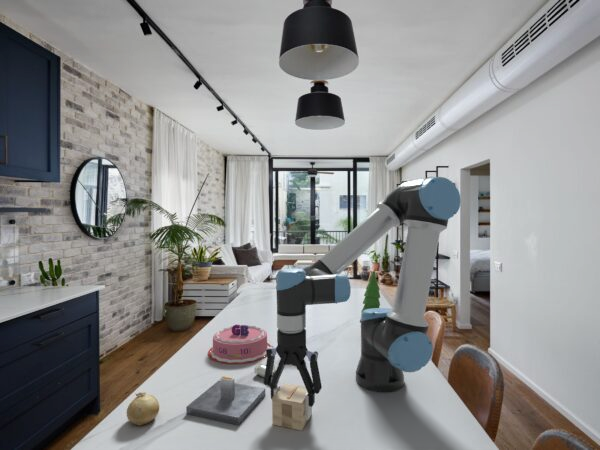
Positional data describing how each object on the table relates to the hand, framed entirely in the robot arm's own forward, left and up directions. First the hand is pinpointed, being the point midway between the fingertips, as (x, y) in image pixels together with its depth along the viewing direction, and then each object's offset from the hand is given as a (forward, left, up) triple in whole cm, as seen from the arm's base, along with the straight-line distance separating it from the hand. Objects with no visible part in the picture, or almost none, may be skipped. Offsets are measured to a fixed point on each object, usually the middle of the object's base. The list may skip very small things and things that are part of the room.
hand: (292, 414), depth 93 cm
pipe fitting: (+16, -21, -2) cm, 26 cm away
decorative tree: (-11, -65, -2) cm, 66 cm away
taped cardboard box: (0, 0, -1) cm, 1 cm away
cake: (+36, -37, -2) cm, 51 cm away
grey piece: (+20, -1, -1) cm, 20 cm away
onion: (+37, +13, -2) cm, 39 cm away
